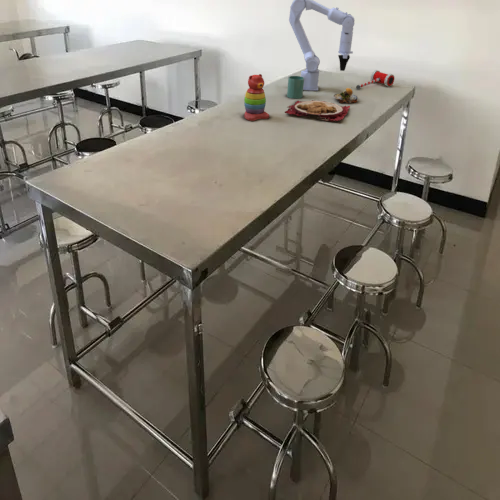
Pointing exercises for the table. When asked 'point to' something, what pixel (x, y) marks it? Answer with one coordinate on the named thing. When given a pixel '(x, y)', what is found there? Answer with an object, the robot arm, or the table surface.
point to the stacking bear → (255, 99)
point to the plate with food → (318, 110)
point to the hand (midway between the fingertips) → (342, 70)
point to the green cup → (295, 87)
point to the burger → (346, 96)
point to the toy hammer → (379, 79)
